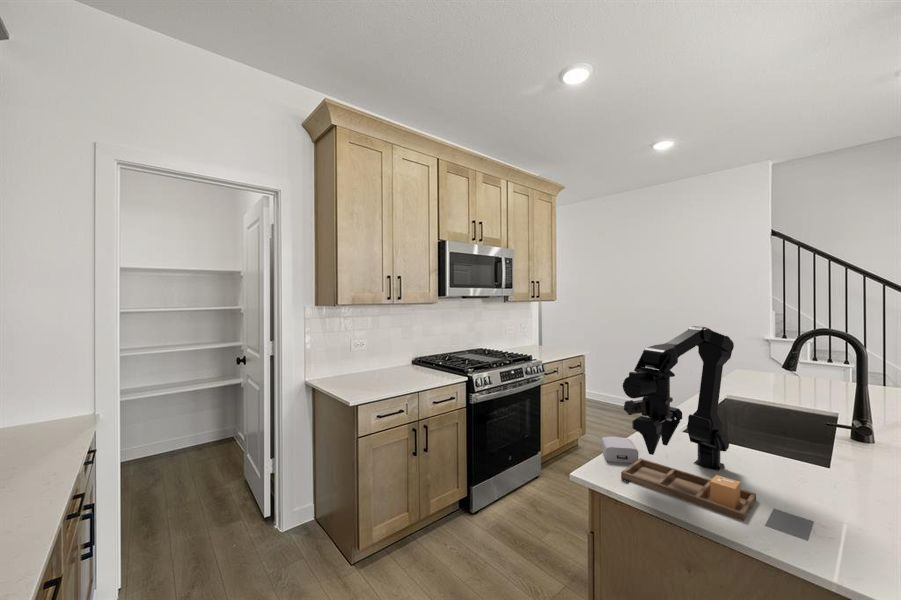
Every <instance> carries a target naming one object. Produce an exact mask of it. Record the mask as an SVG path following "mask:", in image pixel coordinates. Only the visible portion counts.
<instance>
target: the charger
mask: <svg viewBox="0 0 901 600" xmlns="http://www.w3.org/2000/svg"><path fill="white" fill-rule="evenodd" d="M601 449H602V451H603V452H602V453H603V454H604V453H605V454H604V457H605V459H606V461H607V462H611V463H612V462H613V463H623V462H625V464H633V463H635V462H636V461H637V460H639V450H638V449H637V447H636V445H635V444H634V442H633V440H632V439H631V438H629V437H628V438H627V437H619V436H603V437H602V438H601Z"/></svg>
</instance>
